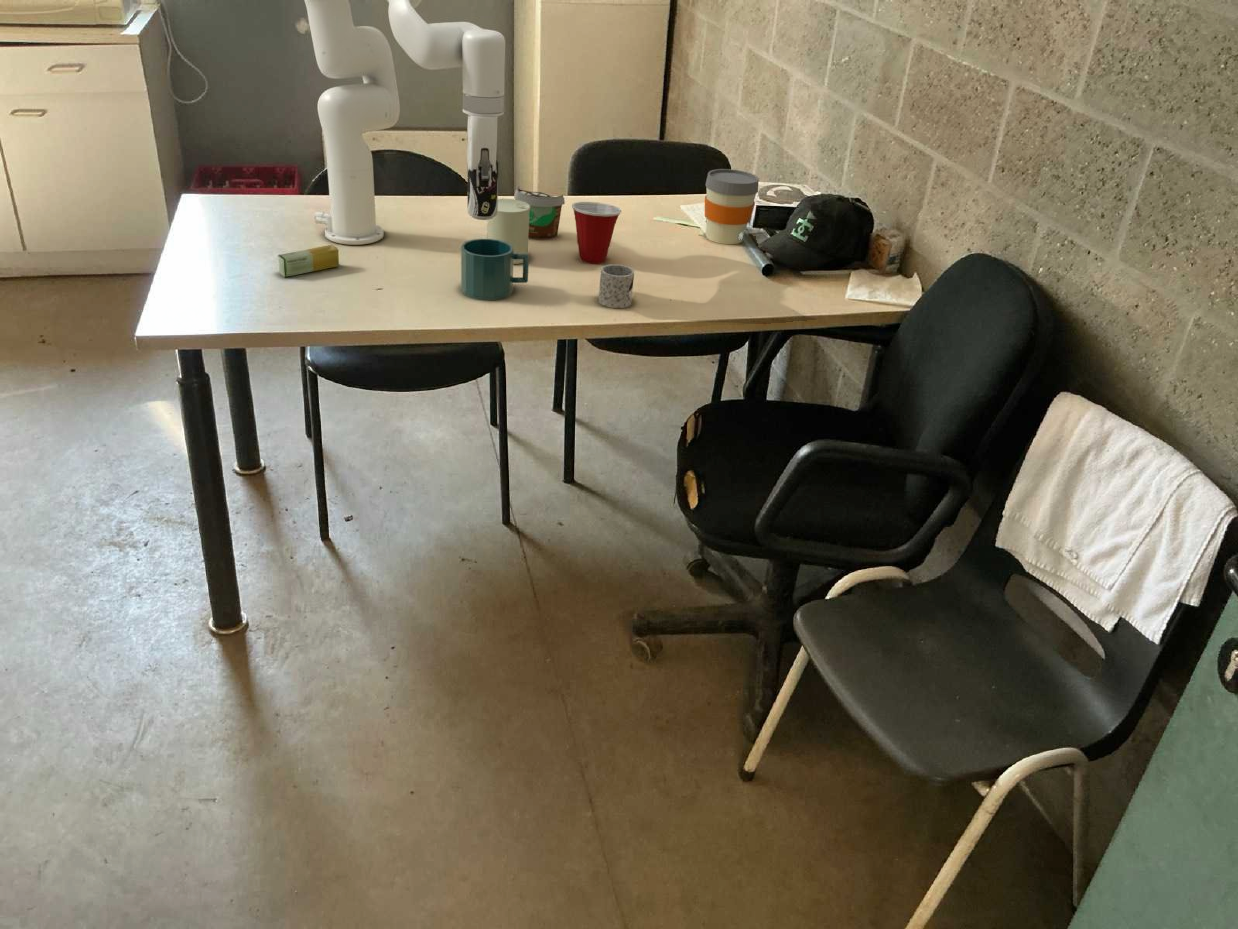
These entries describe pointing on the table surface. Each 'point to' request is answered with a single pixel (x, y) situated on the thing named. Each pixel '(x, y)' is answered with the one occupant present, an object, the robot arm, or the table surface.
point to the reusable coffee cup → (729, 204)
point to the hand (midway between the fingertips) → (482, 202)
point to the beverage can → (482, 196)
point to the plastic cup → (594, 229)
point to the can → (511, 225)
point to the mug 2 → (616, 286)
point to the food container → (542, 213)
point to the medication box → (308, 260)
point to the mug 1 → (489, 269)
